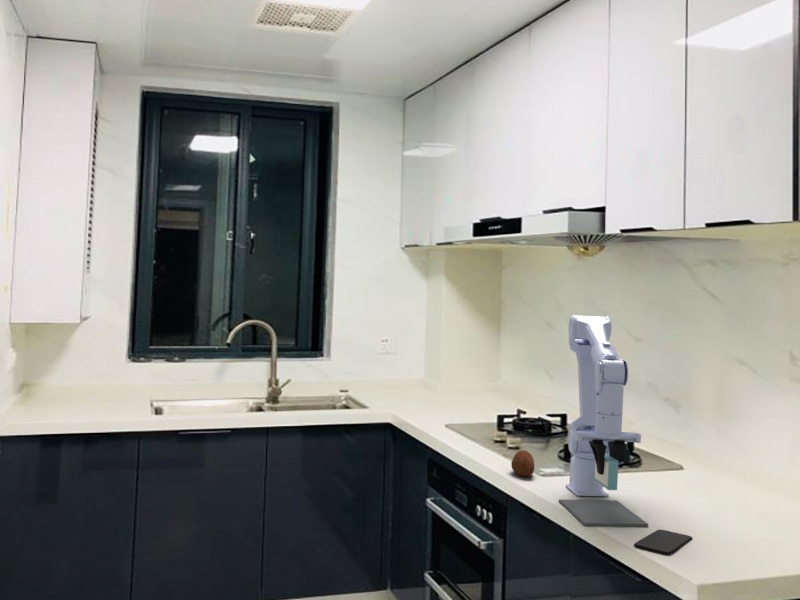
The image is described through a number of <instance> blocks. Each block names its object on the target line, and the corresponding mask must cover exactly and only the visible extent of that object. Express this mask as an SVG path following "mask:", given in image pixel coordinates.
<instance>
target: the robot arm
mask: <svg viewBox="0 0 800 600" xmlns="http://www.w3.org/2000/svg"><path fill="white" fill-rule="evenodd" d="M611 336H612V321H611V319H610V317H609V316H608V315H607V316H596V315H595V316H594V315H591V316H589V315H576V314H572V315H571V316H570V318H569V321H568V344H569V349H570V350H571V351H573V352H574V353H575V355H576V360H577V374H578V377H577V378H578V379H577V380H578V396H579V397H578V399H579V400H578V401H579V416H578V417H577V418H575V419H574V420H573V421H571V423H570V425H569V428H568V438H567V439H568V441H567V443H568V444H567V445H568V451H569V452H570V454H572V455H573V456H572V457H571V459H570V463H569V481H568V482H569V483H566V484H565V487H566V488H567V489H568V490H570V491H571V492H572V493H573V494H574V495H576V496H577V497H582V496H583V497H609V495H610V494H609V493H607V492H606V491H605V490H604V487H603V486H602V485H601V484H599V483H598V482H597V481H595V480H594V473H595V461H596V465H597V472H598V473H599V474H601V475H603V473H604V459H605V453H606V454H608V455H609V456H611V457H612V458H614V459H616V460H617V461H618V464H619V462H620V460H621V458H622V456H623V455H624V453H625V451H626V450H627V443H635V444H641V439H642V434H640V433H639V432H629V431H622V427H623V426H622V425H623V409H624V407H623V405H624V389H625V387H626V385H627V384H628V379H629V366H628V362H627V360H626V359H623V358H620V357H619V355H618V353H617V352H618V351H617V350H616V346H614V344H612V343H611V342H610V338H611Z"/></svg>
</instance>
